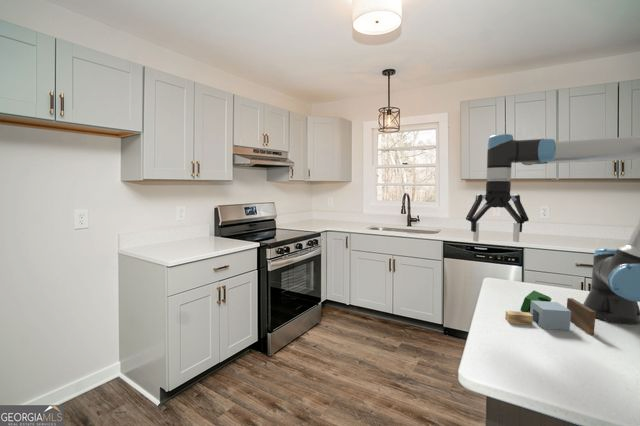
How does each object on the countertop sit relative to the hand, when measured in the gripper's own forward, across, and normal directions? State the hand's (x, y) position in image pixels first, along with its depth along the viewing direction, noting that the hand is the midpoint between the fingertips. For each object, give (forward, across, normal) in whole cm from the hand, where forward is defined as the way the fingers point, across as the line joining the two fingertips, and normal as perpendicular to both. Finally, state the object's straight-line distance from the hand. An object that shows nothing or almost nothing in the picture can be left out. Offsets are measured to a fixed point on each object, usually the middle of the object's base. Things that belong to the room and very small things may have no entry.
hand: (495, 241), depth 118 cm
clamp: (+25, -15, 0) cm, 29 cm away
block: (+25, -13, +11) cm, 30 cm away
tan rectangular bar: (+25, -4, +10) cm, 27 cm away
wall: (+25, -21, +12) cm, 35 cm away
